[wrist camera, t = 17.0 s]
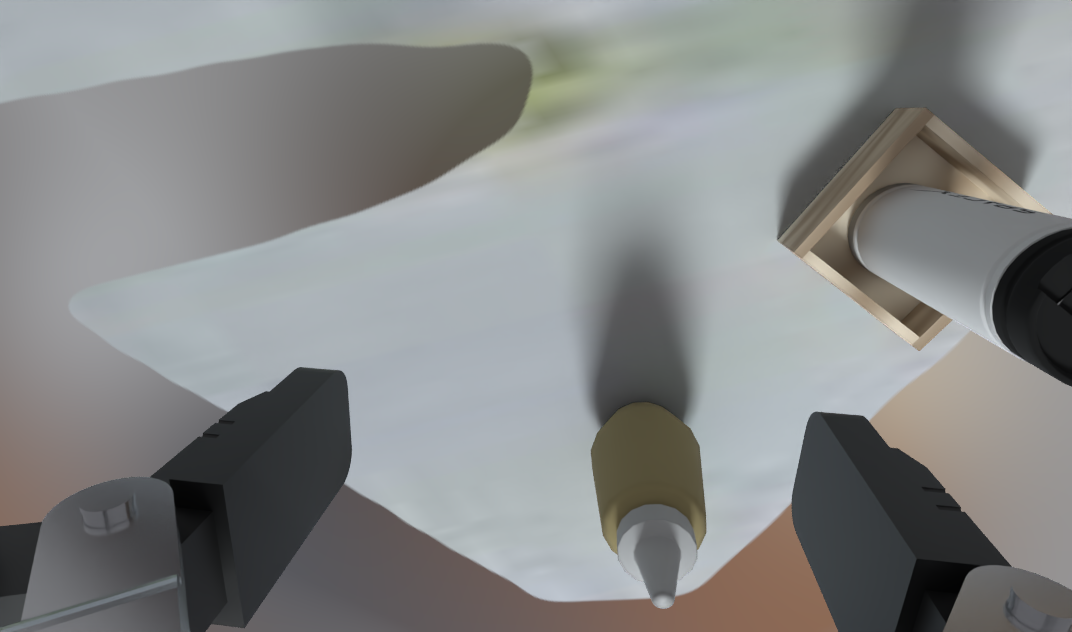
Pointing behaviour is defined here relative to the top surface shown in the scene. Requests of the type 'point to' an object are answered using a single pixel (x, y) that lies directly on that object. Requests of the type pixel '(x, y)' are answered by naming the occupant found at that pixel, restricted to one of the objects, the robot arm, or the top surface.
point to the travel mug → (976, 266)
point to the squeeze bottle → (650, 495)
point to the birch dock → (885, 159)
